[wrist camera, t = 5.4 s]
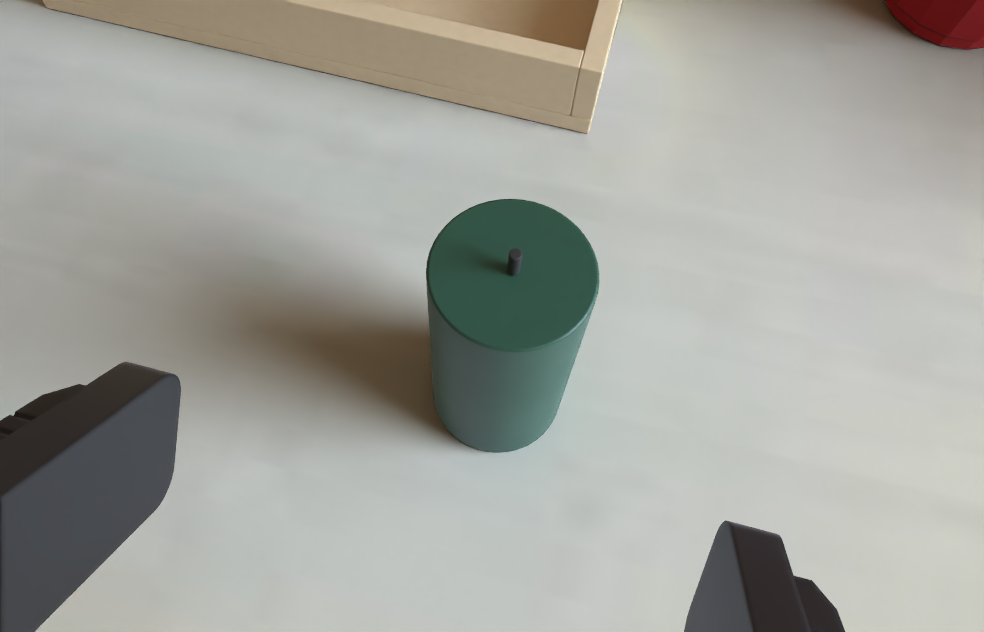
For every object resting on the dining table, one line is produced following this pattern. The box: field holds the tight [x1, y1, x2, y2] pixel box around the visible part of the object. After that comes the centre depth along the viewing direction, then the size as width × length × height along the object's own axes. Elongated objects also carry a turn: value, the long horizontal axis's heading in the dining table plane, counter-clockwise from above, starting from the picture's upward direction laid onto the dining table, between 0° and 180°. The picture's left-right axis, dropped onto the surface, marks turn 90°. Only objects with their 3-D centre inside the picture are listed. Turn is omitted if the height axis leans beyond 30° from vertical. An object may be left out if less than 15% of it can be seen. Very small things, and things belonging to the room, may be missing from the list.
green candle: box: [426, 199, 599, 452], centre depth 22 cm, size 4×4×9 cm
